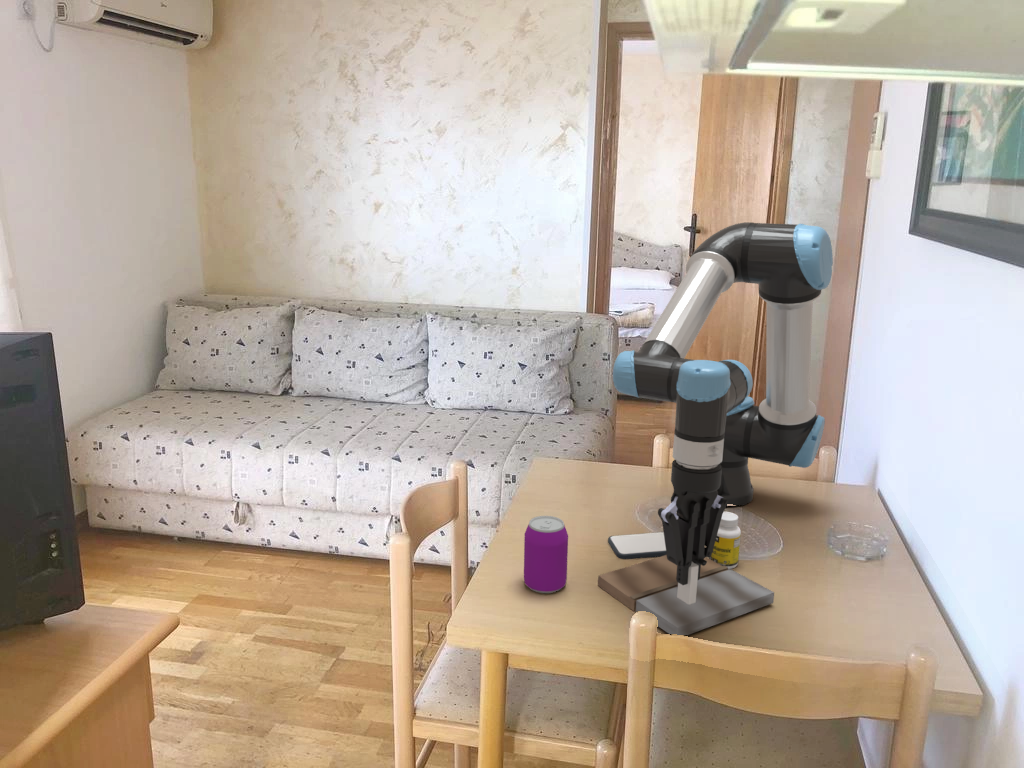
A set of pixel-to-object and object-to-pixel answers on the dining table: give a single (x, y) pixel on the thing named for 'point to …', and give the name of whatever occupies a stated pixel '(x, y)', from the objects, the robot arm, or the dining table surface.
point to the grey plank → (706, 603)
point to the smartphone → (638, 545)
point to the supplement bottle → (727, 541)
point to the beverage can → (545, 554)
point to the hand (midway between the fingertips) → (686, 599)
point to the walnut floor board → (647, 579)
